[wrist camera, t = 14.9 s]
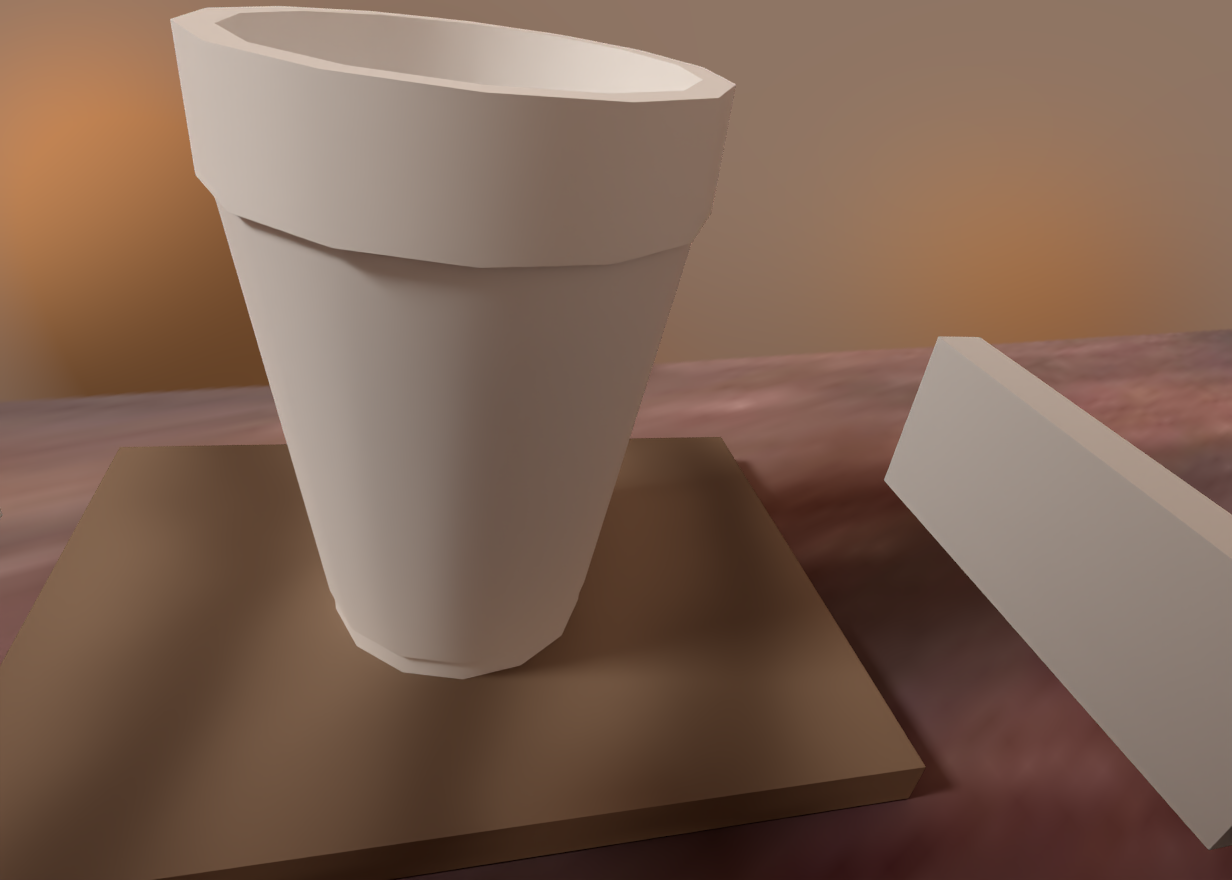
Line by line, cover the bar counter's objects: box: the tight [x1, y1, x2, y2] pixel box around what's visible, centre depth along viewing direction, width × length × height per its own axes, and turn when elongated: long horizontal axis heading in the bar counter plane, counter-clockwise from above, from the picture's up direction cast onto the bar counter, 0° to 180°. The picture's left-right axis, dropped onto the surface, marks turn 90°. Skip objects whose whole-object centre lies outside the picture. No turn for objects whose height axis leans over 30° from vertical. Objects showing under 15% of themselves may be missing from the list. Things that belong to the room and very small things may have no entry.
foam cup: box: [170, 6, 736, 679], centre depth 17 cm, size 10×9×13 cm
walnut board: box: [0, 437, 926, 880], centre depth 21 cm, size 20×14×1 cm
